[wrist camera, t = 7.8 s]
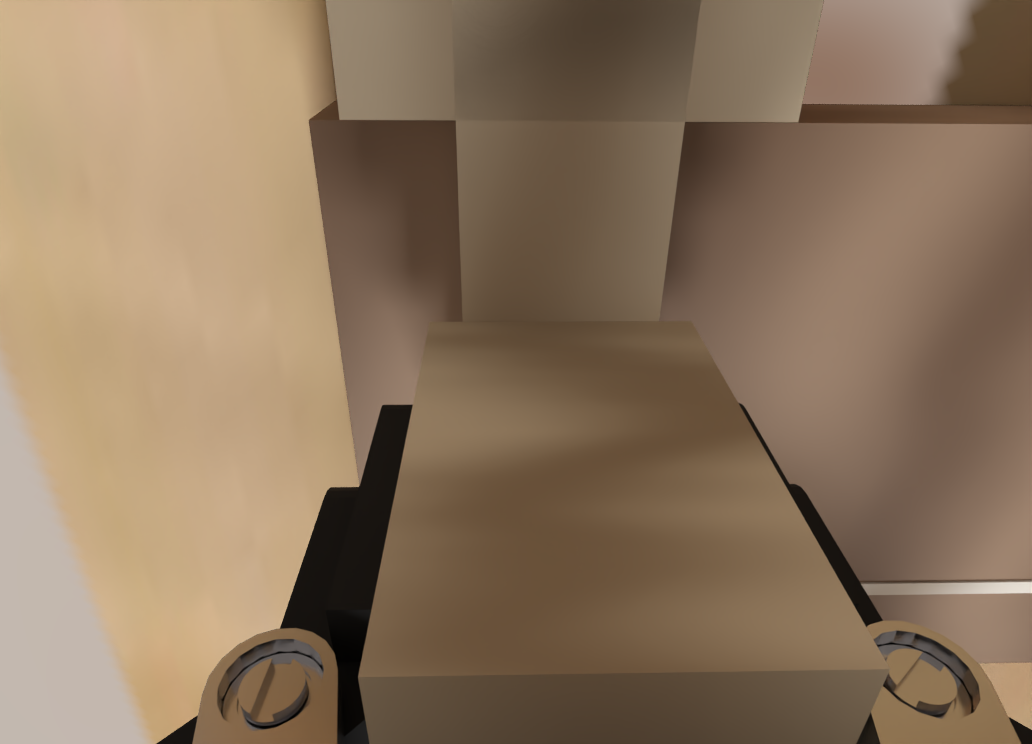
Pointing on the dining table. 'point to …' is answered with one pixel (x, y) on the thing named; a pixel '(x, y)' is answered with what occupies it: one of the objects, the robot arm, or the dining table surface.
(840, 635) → the beige block
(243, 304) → the dining table surface
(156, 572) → the dining table surface
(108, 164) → the dining table surface
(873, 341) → the board
